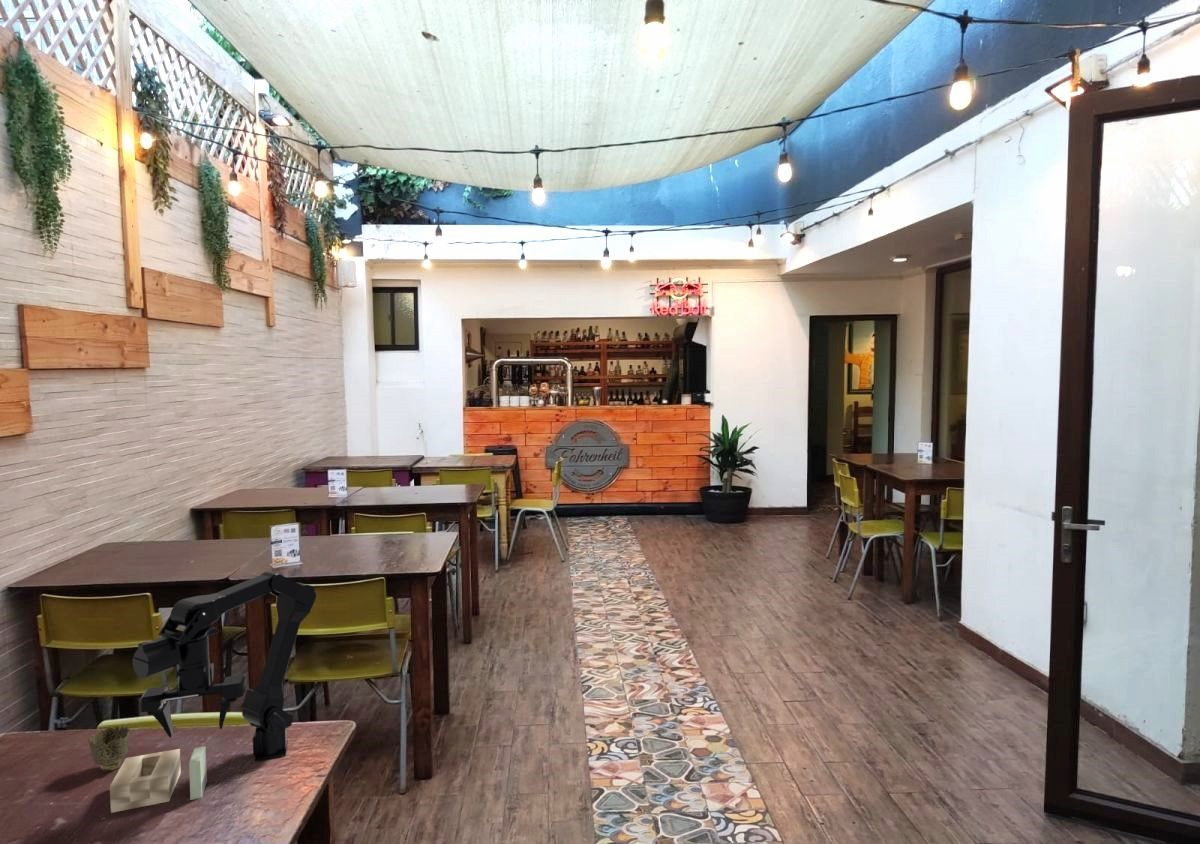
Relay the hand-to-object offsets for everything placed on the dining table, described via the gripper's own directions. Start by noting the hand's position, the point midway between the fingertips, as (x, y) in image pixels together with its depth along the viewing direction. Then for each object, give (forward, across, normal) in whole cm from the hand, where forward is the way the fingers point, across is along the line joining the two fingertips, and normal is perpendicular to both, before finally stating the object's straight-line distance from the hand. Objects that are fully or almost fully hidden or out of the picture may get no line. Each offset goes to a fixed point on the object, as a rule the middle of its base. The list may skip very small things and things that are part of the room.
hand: (196, 732), depth 141 cm
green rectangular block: (+13, 0, 0) cm, 13 cm away
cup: (+13, +20, -17) cm, 29 cm away
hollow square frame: (+13, +10, -3) cm, 16 cm away
